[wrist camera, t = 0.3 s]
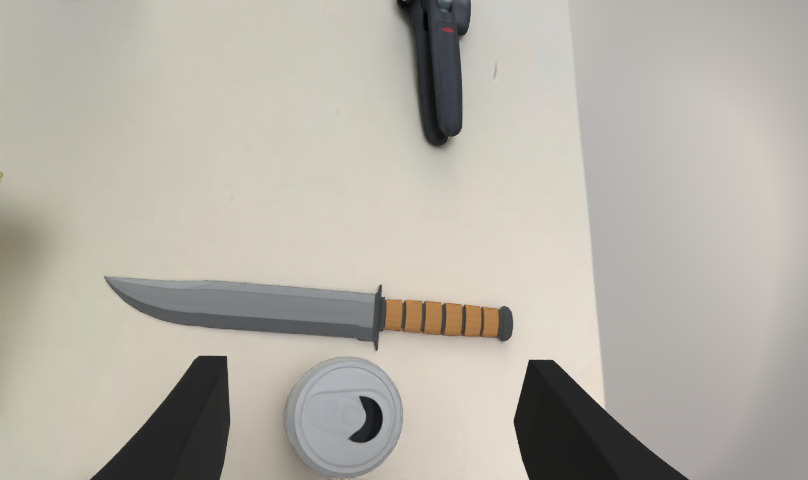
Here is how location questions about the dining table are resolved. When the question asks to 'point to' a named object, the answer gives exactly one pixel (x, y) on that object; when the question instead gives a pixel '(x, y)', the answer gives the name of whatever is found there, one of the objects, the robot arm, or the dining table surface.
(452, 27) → the can opener
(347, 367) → the beverage can
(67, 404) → the dining table surface
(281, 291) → the knife
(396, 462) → the dining table surface
